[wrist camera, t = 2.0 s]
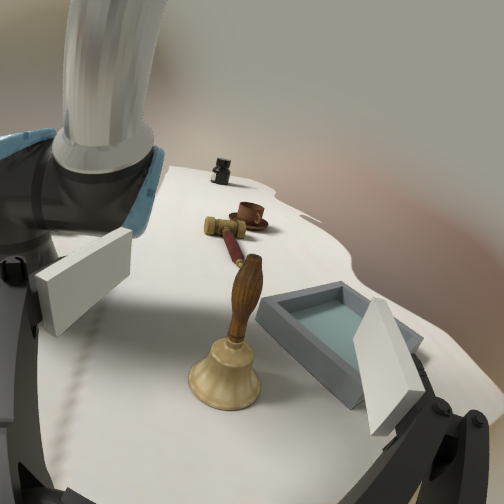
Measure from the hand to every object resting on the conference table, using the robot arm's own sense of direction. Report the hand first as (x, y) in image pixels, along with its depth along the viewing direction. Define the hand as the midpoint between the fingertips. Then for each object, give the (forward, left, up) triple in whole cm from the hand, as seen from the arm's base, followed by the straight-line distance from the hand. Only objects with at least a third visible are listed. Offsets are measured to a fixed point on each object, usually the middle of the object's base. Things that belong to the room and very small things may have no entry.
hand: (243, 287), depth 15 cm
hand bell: (-7, +7, -19) cm, 21 cm away
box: (-6, +28, -18) cm, 34 cm away
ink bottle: (-112, +66, -19) cm, 131 cm away
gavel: (-41, +29, -19) cm, 53 cm away
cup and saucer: (-55, +44, -19) cm, 73 cm away
